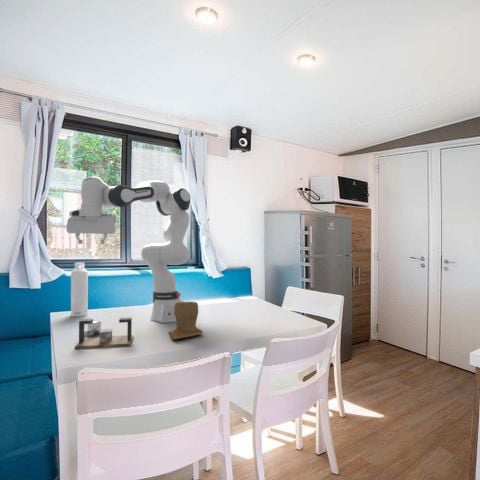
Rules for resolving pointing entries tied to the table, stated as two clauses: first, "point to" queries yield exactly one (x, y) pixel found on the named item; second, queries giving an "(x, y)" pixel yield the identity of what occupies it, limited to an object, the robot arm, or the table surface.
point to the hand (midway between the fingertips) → (91, 243)
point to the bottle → (79, 290)
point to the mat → (88, 335)
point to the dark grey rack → (104, 336)
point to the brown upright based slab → (185, 320)
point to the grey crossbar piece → (94, 328)
